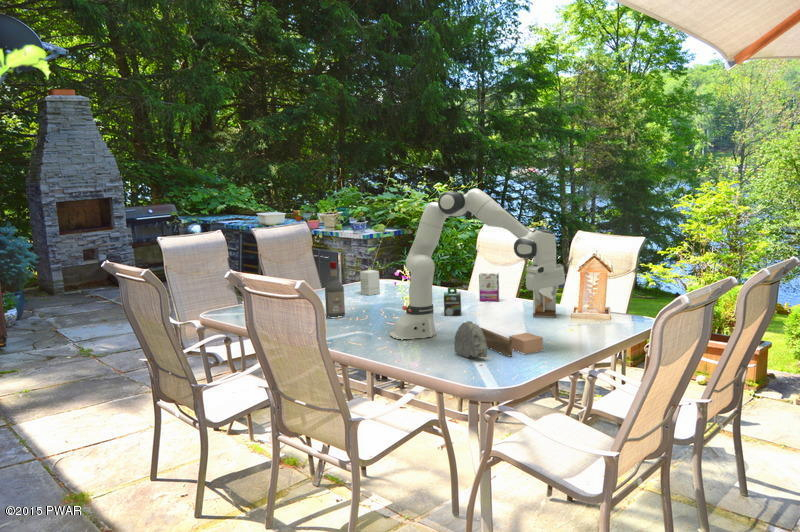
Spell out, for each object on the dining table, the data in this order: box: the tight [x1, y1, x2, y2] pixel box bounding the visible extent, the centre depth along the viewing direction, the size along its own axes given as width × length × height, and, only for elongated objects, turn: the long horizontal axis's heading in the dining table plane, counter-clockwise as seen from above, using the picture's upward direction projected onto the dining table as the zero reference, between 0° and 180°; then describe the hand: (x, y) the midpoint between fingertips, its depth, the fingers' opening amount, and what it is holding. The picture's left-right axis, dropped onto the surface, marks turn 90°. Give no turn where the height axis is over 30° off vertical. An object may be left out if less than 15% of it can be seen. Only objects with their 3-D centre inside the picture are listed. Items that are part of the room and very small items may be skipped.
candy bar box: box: [478, 272, 500, 302], centre depth 370 cm, size 11×5×16 cm, turn 73°
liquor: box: [324, 261, 346, 318], centre depth 341 cm, size 9×9×30 cm
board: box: [480, 327, 513, 357], centre depth 272 cm, size 2×24×7 cm, turn 25°
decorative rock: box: [453, 320, 488, 359], centre depth 262 cm, size 16×7×15 cm, turn 33°
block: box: [508, 332, 544, 355], centre depth 270 cm, size 10×10×6 cm
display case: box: [532, 250, 557, 319], centre depth 328 cm, size 11×11×35 cm
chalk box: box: [443, 287, 462, 317], centre depth 340 cm, size 9×9×15 cm
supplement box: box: [359, 269, 381, 296], centre depth 402 cm, size 9×9×15 cm
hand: (546, 297), depth 276 cm, fingers open, 8 cm apart
